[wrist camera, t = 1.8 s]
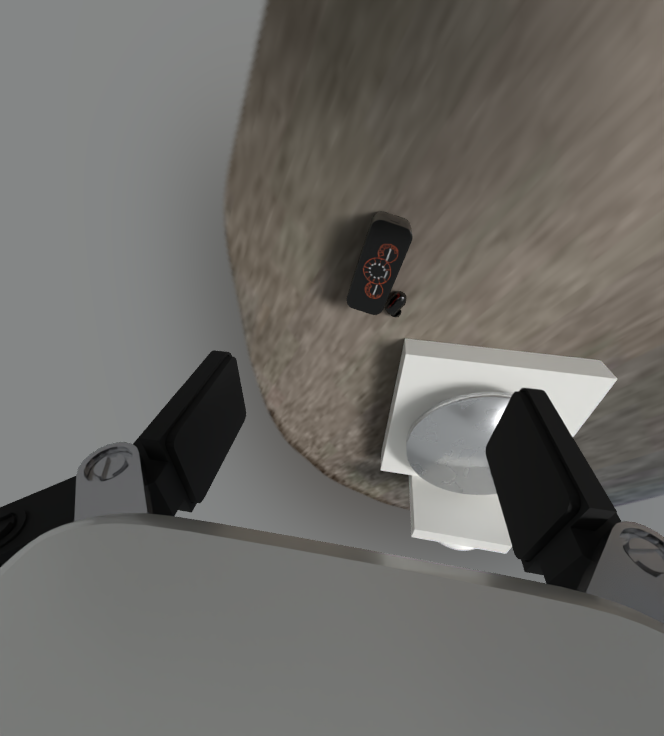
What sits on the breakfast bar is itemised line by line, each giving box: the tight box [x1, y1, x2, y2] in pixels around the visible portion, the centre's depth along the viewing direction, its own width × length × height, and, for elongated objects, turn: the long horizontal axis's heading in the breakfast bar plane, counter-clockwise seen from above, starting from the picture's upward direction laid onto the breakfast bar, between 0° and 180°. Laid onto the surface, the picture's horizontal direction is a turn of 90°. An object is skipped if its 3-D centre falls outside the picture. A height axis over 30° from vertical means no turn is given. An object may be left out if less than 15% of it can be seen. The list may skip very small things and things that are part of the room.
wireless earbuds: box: [347, 211, 412, 317], centre depth 23 cm, size 5×7×3 cm, turn 165°
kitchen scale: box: [381, 338, 617, 554], centre depth 29 cm, size 18×16×9 cm
